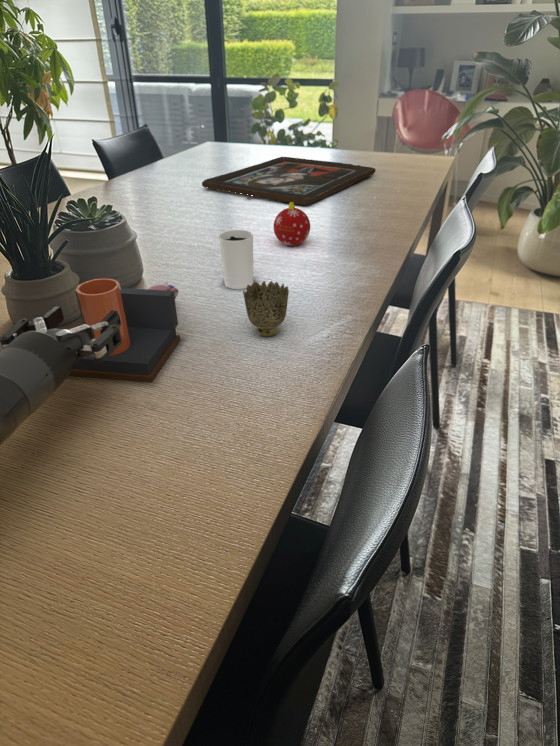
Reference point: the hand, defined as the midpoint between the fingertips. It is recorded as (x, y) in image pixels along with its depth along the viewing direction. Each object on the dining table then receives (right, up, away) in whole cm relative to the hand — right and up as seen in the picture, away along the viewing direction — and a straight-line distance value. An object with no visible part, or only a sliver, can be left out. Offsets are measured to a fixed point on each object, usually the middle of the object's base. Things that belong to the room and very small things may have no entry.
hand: (87, 314), depth 77 cm
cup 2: (+25, -2, +16) cm, 30 cm away
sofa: (+1, -6, +11) cm, 12 cm away
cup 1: (+1, -4, +7) cm, 9 cm away
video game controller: (+4, +2, +23) cm, 24 cm away
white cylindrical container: (+19, +10, +34) cm, 40 cm away
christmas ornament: (+30, +22, +53) cm, 65 cm away
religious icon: (+31, +54, +103) cm, 120 cm away
